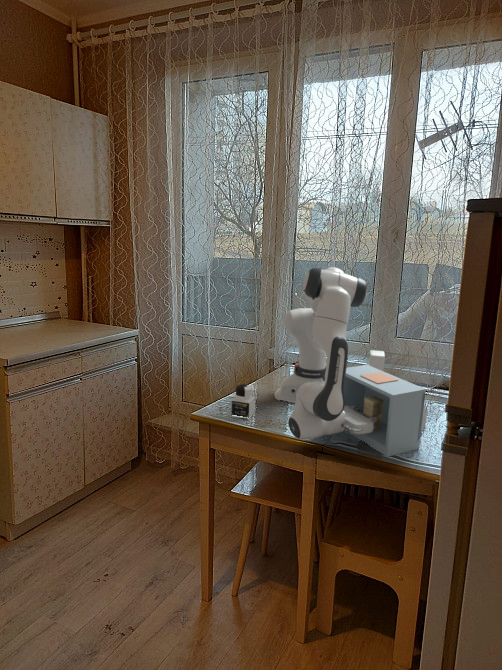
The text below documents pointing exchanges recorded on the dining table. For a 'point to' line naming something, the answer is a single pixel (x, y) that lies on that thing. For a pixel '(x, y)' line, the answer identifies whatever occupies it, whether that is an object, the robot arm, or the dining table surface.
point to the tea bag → (424, 418)
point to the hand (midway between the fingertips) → (366, 413)
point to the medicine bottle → (243, 401)
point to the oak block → (373, 410)
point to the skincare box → (377, 359)
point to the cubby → (387, 408)
